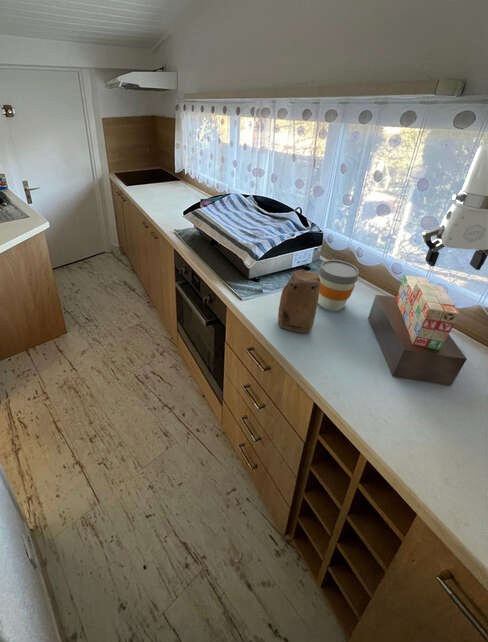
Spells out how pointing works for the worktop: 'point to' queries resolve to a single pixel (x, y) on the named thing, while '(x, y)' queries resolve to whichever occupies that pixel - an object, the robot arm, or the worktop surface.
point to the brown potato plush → (299, 301)
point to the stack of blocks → (426, 312)
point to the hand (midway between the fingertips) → (451, 265)
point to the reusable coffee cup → (336, 283)
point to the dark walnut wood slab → (412, 347)
